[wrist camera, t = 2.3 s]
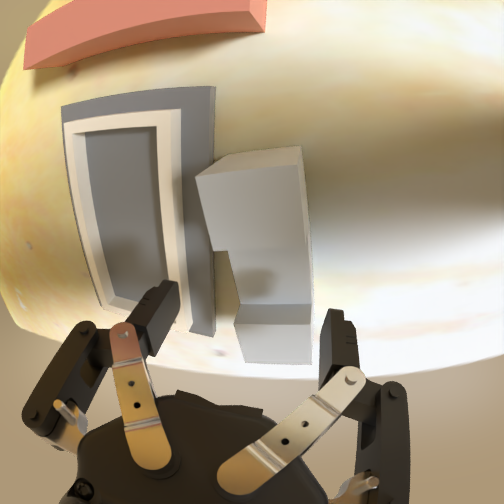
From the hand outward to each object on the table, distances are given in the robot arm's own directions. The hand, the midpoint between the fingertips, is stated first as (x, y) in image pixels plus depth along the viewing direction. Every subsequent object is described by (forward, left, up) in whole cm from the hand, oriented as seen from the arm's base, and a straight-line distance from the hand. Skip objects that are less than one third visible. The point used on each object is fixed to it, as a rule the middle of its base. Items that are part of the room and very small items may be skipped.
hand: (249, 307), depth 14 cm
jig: (+11, 0, -8) cm, 14 cm away
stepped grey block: (-1, 0, -8) cm, 8 cm away
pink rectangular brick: (+10, -17, -8) cm, 21 cm away
